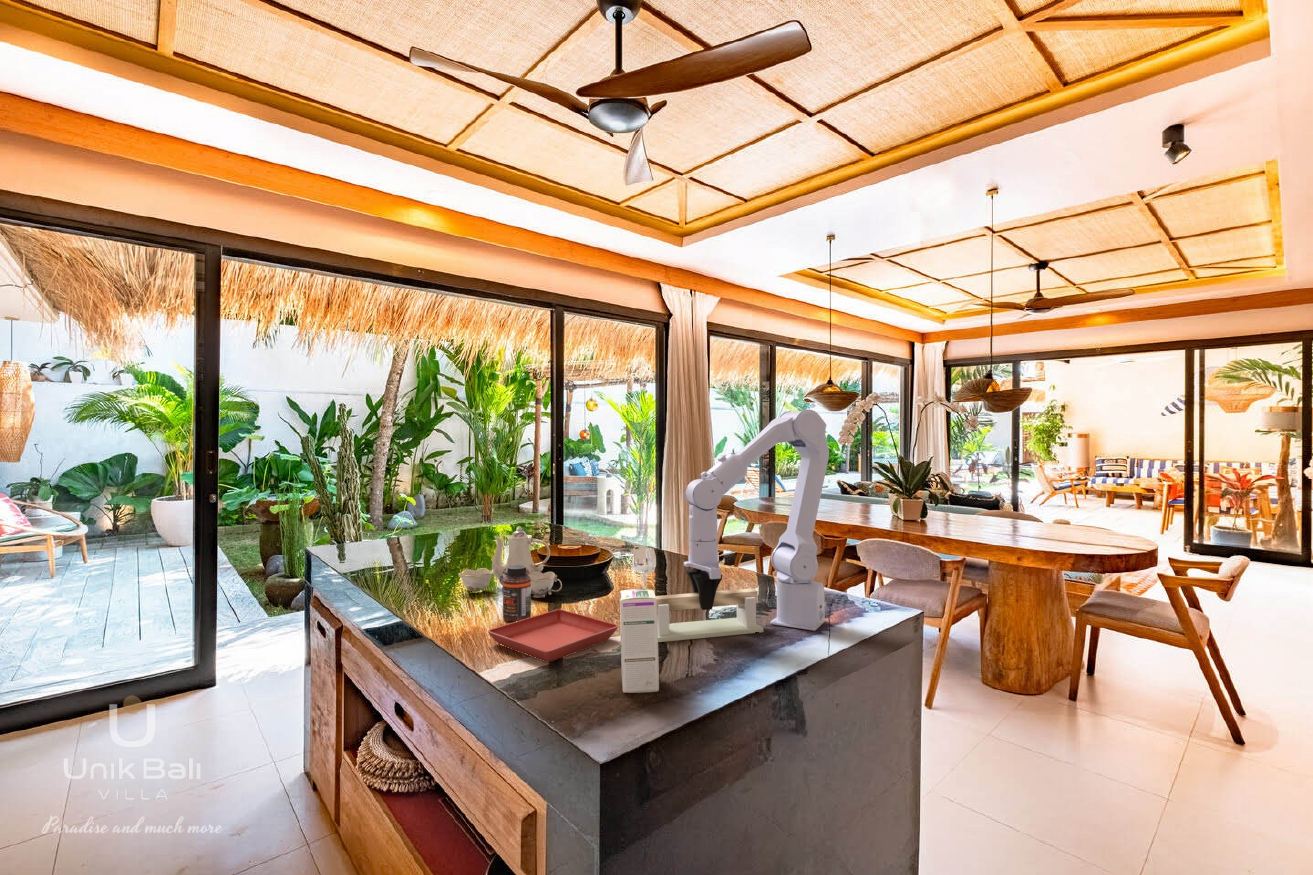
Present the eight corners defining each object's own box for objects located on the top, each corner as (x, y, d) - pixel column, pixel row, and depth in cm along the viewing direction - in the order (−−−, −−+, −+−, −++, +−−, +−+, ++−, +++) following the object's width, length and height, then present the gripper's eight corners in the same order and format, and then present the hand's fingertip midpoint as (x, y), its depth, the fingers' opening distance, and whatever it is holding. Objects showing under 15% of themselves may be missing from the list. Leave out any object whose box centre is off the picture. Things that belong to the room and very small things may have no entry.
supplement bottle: (497, 621, 131) (496, 568, 130) (513, 613, 136) (513, 562, 136) (520, 624, 128) (520, 570, 128) (536, 616, 134) (536, 564, 134)
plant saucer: (546, 669, 104) (546, 650, 104) (485, 646, 116) (485, 629, 116) (620, 642, 118) (620, 624, 118) (559, 624, 129) (559, 608, 129)
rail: (752, 599, 126) (752, 588, 126) (757, 602, 124) (757, 591, 124) (649, 608, 121) (649, 596, 121) (652, 612, 119) (652, 599, 119)
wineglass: (653, 600, 145) (653, 550, 145) (630, 599, 146) (629, 549, 146) (658, 594, 151) (658, 546, 151) (635, 593, 152) (635, 545, 152)
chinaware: (448, 603, 151) (443, 537, 150) (478, 580, 168) (475, 521, 166) (556, 607, 147) (553, 539, 145) (577, 584, 163) (574, 522, 161)
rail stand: (747, 620, 129) (747, 589, 129) (763, 631, 121) (763, 599, 121) (646, 629, 124) (645, 597, 124) (655, 642, 116) (655, 608, 116)
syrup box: (659, 691, 93) (658, 597, 93) (621, 693, 93) (620, 598, 93) (656, 677, 99) (655, 587, 99) (620, 678, 99) (619, 588, 99)
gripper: (674, 534, 129) (675, 599, 129) (695, 546, 114) (696, 619, 115) (706, 533, 130) (706, 596, 130) (730, 544, 116) (731, 616, 116)
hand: (704, 607), depth 123 cm, fingers closed on rail, 2 cm apart
